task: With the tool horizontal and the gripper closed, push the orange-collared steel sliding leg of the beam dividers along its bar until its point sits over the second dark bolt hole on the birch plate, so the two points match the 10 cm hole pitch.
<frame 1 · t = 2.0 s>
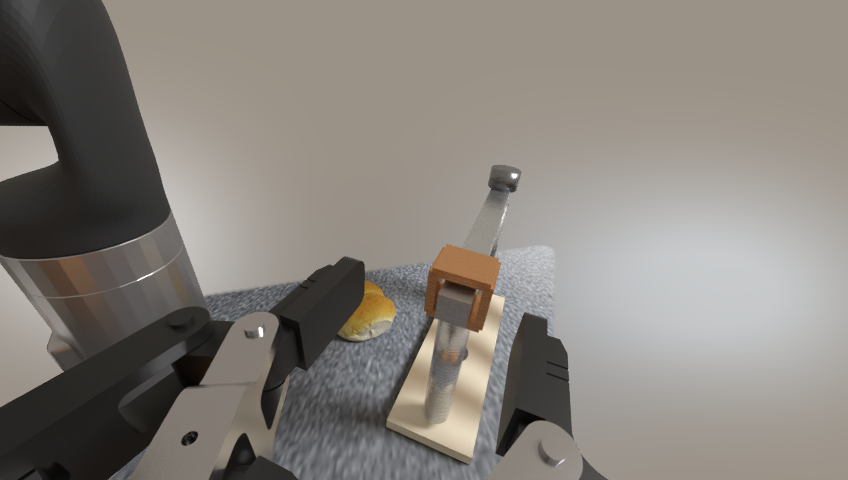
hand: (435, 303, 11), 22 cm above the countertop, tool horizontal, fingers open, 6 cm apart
bread roll: (361, 317, 40), on the countertop
sliding leg: (448, 353, 24), point 10 cm above the countertop, slide at 8.0 cm
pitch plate: (459, 345, 37), on the countertop
divider beam: (472, 286, 31), on the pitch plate, point 11 cm above the countertop
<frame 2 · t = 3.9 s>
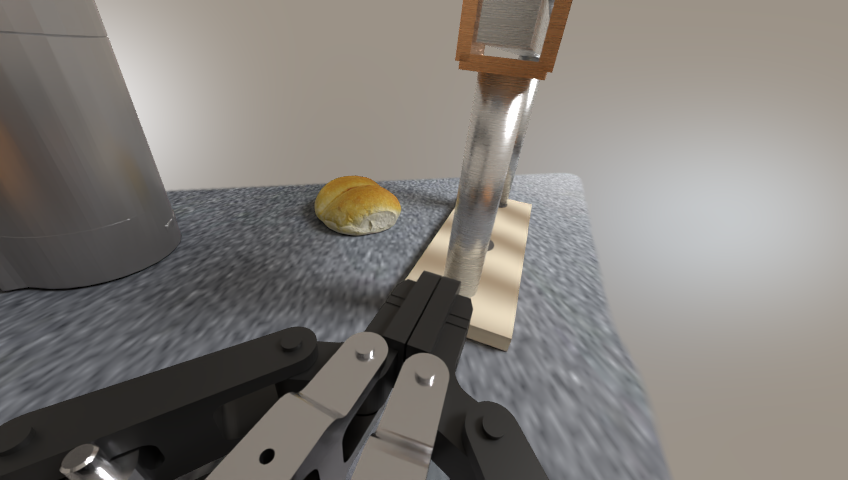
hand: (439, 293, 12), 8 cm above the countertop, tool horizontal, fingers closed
bread roll: (358, 218, 33), on the countertop
sliding leg: (483, 172, 16), point 10 cm above the countertop, slide at 8.0 cm
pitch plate: (481, 243, 30), on the countertop
divider beam: (505, 136, 23), on the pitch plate, point 11 cm above the countertop
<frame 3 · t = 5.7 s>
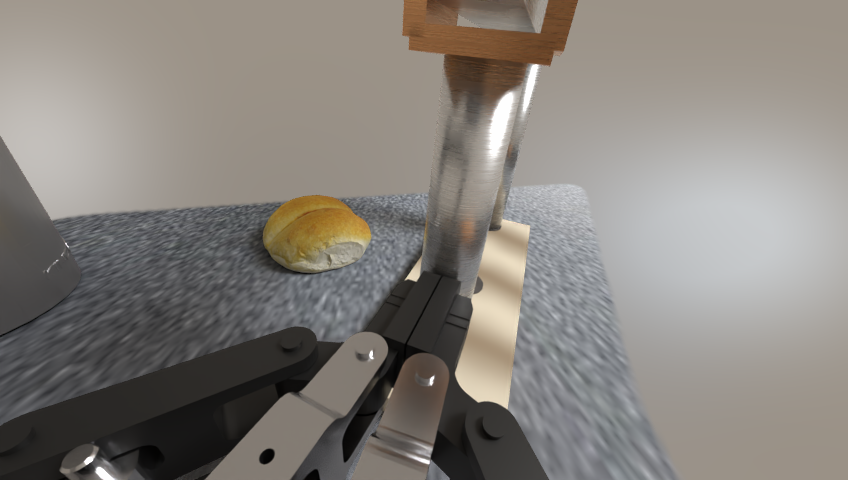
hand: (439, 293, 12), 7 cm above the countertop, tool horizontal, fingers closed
bread roll: (321, 247, 27), on the countertop
sliding leg: (460, 206, 11), point 10 cm above the countertop, slide at 7.4 cm, touching gripper
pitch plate: (468, 279, 24), on the countertop
divider beam: (494, 150, 18), on the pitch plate, point 11 cm above the countertop
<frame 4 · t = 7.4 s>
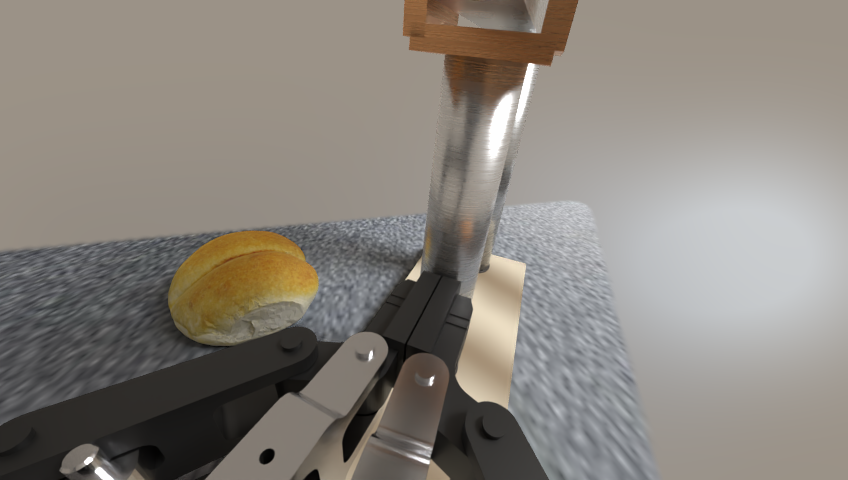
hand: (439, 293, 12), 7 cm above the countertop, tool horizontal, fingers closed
bread roll: (255, 299, 21), on the countertop
sliding leg: (460, 206, 11), point 10 cm above the countertop, slide at 0.1 cm, touching gripper
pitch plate: (441, 349, 18), on the countertop
divider beam: (465, 193, 12), on the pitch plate, point 11 cm above the countertop
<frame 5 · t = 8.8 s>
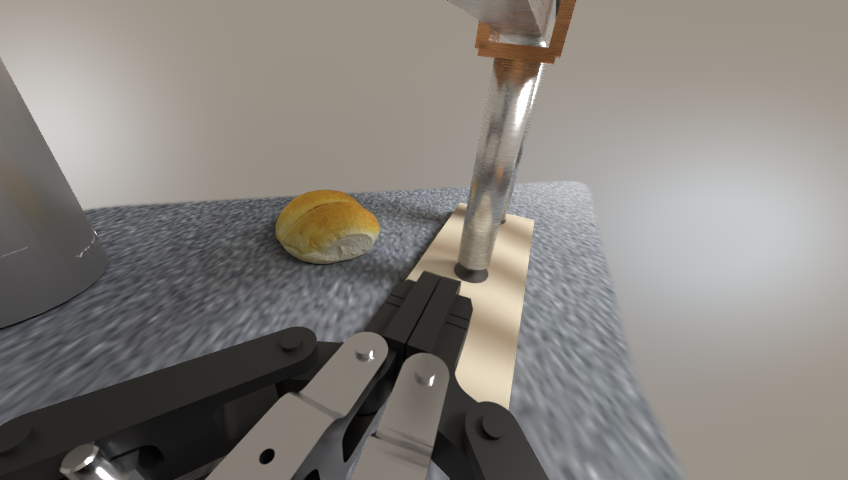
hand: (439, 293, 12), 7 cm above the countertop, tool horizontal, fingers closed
bread roll: (330, 240, 28), on the countertop
sliding leg: (497, 151, 18), point 10 cm above the countertop, slide at 0.0 cm
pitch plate: (473, 270, 25), on the countertop
divider beam: (500, 144, 18), on the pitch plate, point 11 cm above the countertop
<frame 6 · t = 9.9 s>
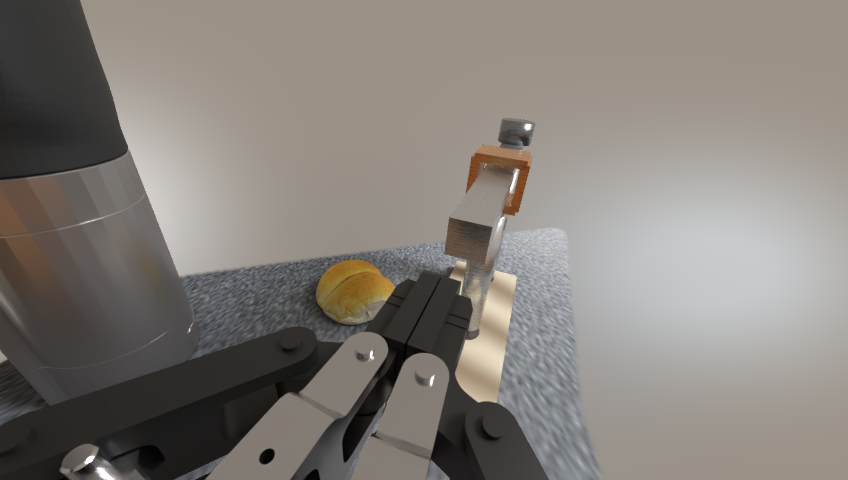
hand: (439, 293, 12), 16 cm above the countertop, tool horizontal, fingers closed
bread roll: (356, 300, 36), on the countertop
sliding leg: (482, 254, 26), point 10 cm above the countertop, slide at 0.0 cm
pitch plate: (468, 325, 33), on the countertop
divider beam: (484, 248, 27), on the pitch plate, point 11 cm above the countertop
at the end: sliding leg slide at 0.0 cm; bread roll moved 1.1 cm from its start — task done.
